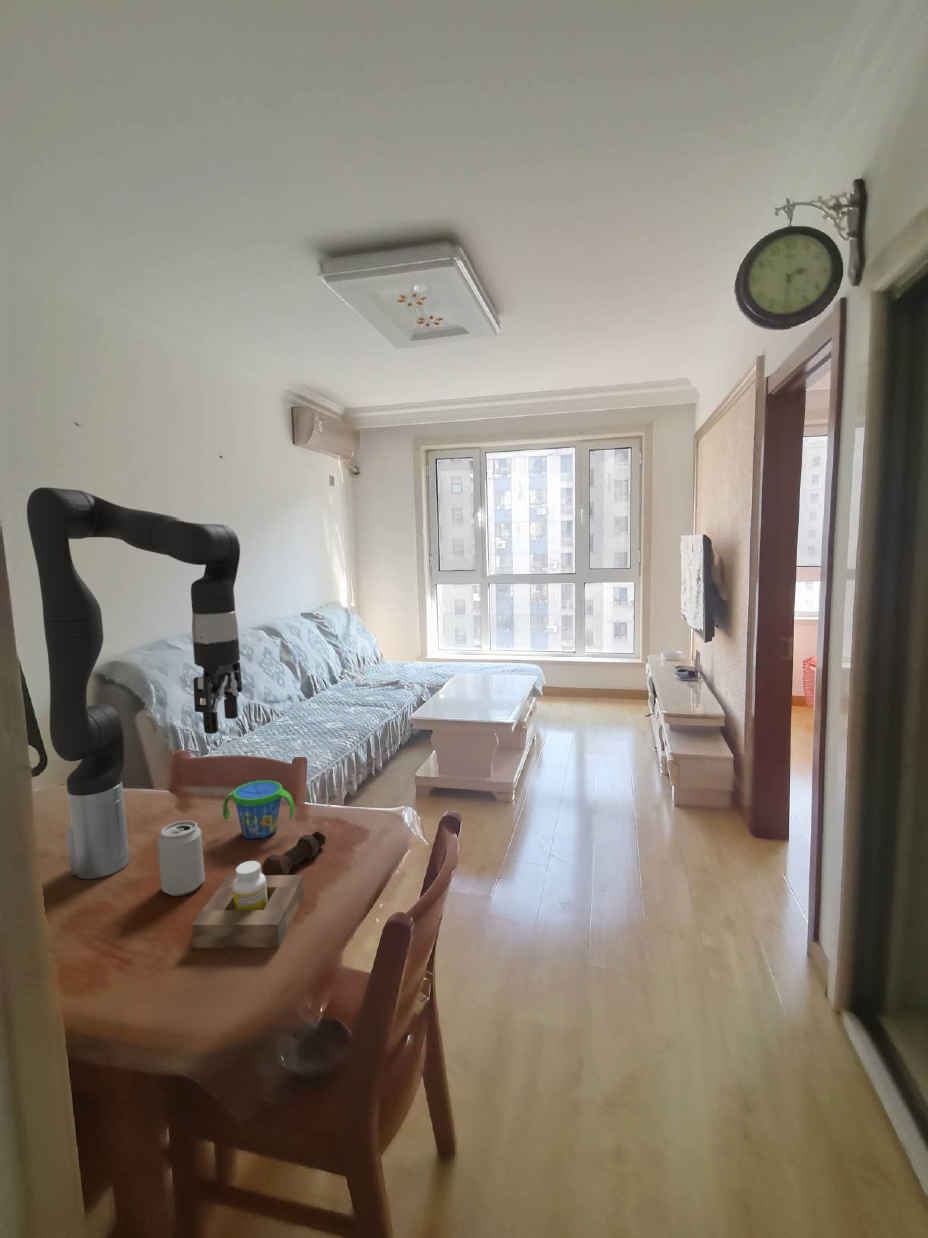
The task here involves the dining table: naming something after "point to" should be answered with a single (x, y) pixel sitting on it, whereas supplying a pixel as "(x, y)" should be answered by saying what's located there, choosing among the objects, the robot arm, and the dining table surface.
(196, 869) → the can
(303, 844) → the bolt
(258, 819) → the snack cup
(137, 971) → the dining table surface
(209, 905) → the socket block
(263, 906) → the supplement bottle
